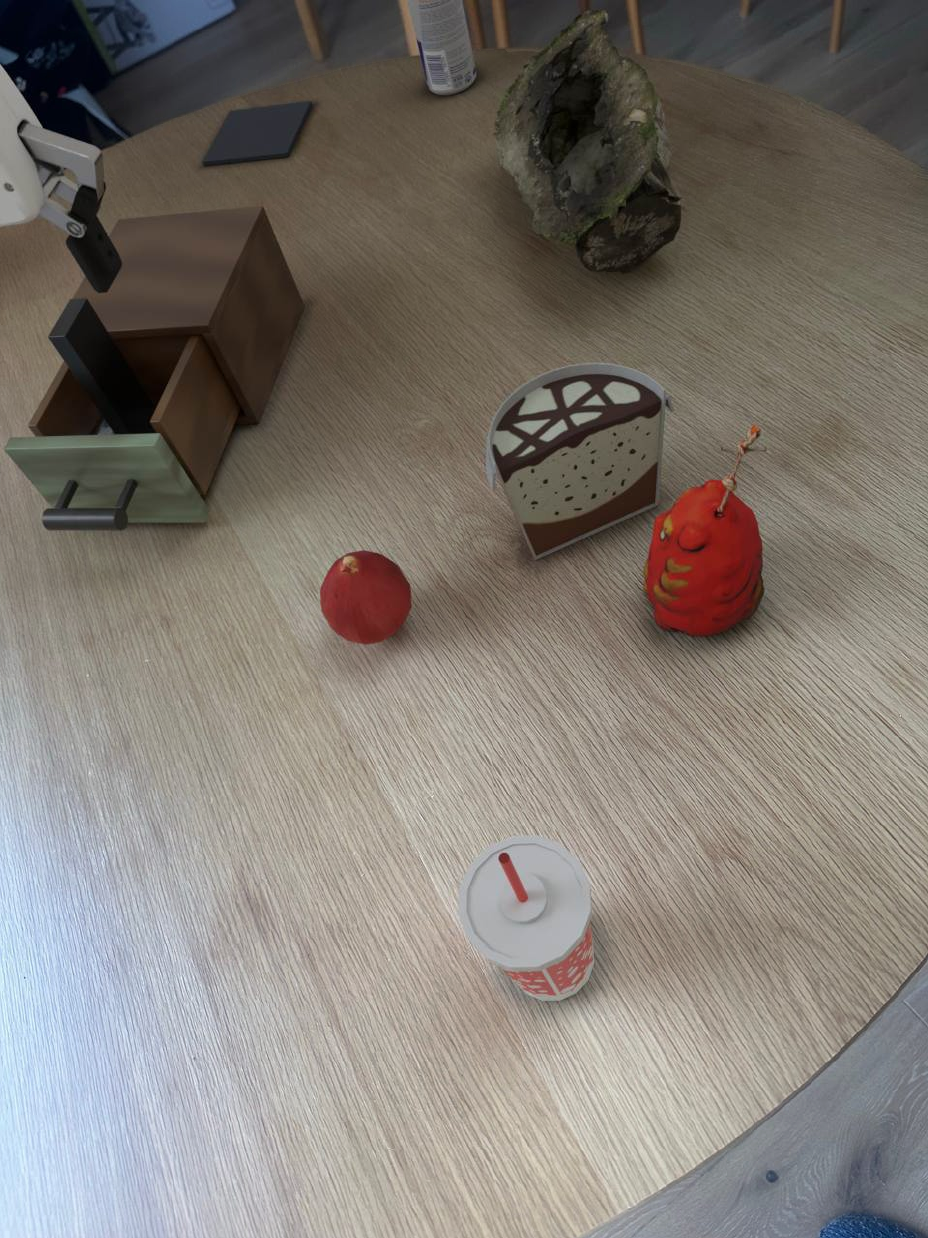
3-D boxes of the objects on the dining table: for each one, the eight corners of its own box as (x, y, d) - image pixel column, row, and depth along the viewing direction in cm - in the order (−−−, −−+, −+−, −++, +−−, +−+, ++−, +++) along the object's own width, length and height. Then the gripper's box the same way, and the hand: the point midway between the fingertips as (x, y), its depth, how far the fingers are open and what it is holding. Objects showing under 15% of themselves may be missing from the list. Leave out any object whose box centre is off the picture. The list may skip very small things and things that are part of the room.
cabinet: (259, 423, 81) (207, 324, 73) (114, 427, 84) (50, 334, 76) (305, 306, 88) (263, 205, 80) (171, 314, 92) (118, 218, 84)
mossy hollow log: (643, 355, 82) (777, 213, 72) (518, 294, 76) (645, 130, 66) (593, 164, 98) (697, 25, 88) (485, 101, 92) (584, -56, 82)
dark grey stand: (92, 479, 78) (-7, 349, 67) (119, 424, 81) (29, 292, 71) (193, 478, 76) (107, 343, 65) (217, 421, 79) (139, 284, 68)
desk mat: (204, 166, 107) (202, 161, 106) (231, 114, 112) (229, 110, 112) (288, 156, 104) (286, 152, 104) (312, 104, 109) (311, 100, 109)
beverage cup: (594, 887, 53) (560, 774, 42) (622, 1003, 50) (594, 913, 38) (484, 912, 54) (422, 807, 42) (504, 1029, 50) (442, 948, 39)
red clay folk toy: (667, 543, 65) (656, 370, 53) (776, 562, 62) (790, 385, 50) (634, 637, 62) (613, 474, 50) (748, 661, 59) (755, 496, 47)
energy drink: (455, 64, 108) (430, -58, 98) (487, 76, 105) (463, -48, 95) (418, 88, 106) (388, -33, 97) (449, 101, 103) (421, -23, 94)
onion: (327, 621, 67) (286, 549, 61) (401, 581, 68) (368, 505, 62) (361, 681, 64) (320, 611, 58) (438, 638, 65) (407, 564, 58)
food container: (637, 440, 71) (626, 329, 63) (678, 496, 67) (673, 385, 59) (481, 509, 70) (450, 407, 62) (514, 569, 67) (486, 468, 59)
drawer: (186, 568, 72) (132, 493, 65) (42, 566, 75) (-24, 494, 68) (256, 395, 81) (214, 314, 75) (125, 400, 85) (74, 323, 78)
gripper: (-297, 72, 52) (-84, 330, 66) (-29, 25, 47) (141, 313, 61) (-220, 3, 56) (-34, 259, 70) (35, -47, 51) (181, 238, 65)
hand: (47, 284), depth 65 cm, fingers open, 9 cm apart
